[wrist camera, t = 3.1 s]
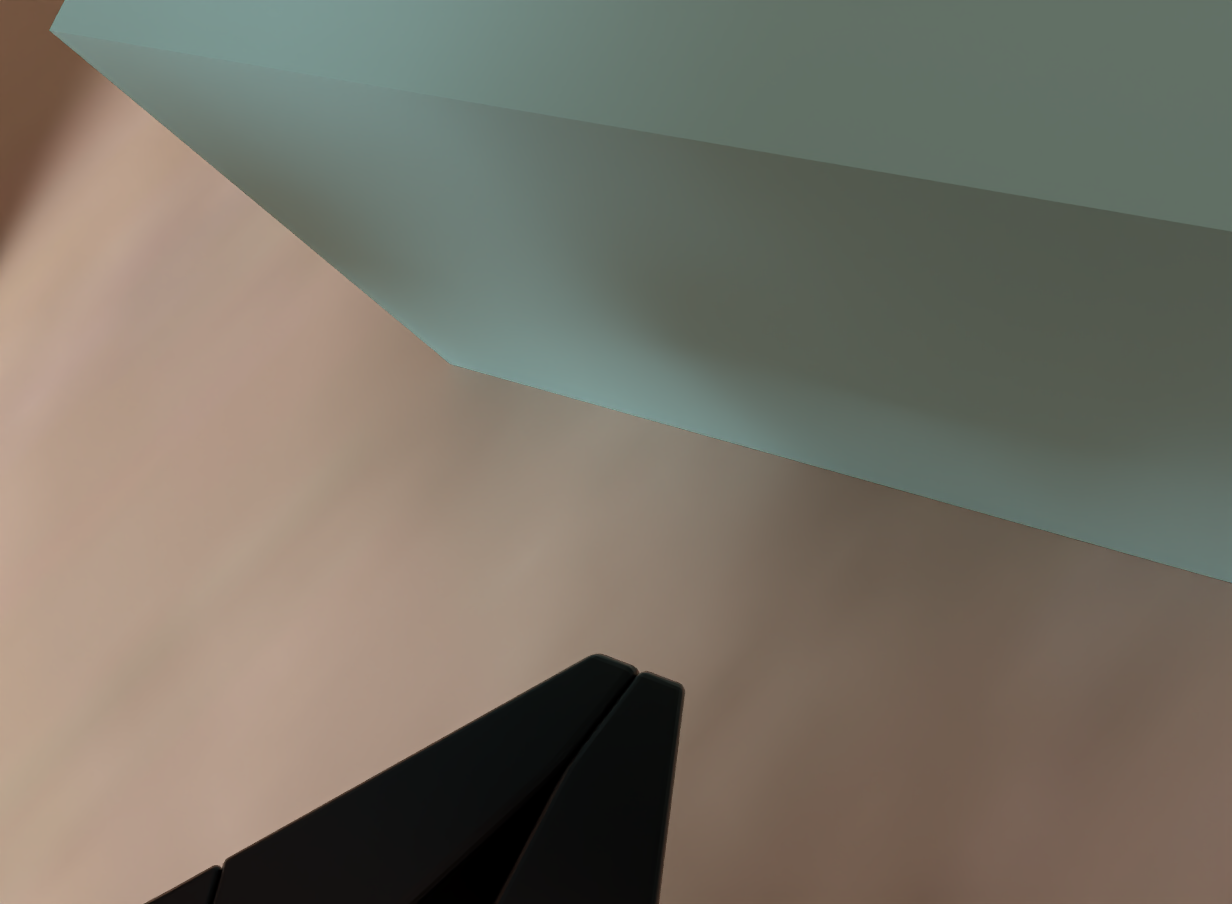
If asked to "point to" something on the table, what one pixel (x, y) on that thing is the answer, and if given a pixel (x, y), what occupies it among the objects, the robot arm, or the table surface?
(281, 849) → the robot arm
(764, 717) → the table surface
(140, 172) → the table surface
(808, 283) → the t block
